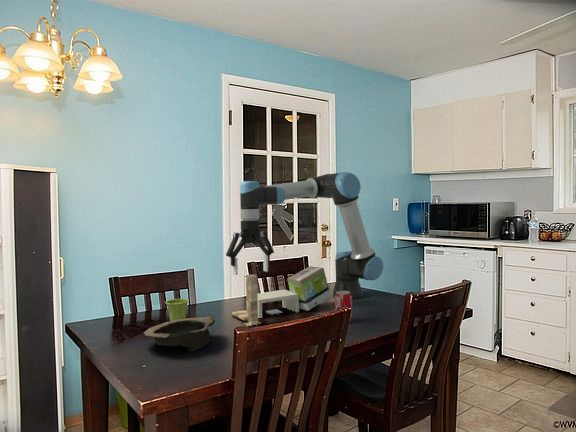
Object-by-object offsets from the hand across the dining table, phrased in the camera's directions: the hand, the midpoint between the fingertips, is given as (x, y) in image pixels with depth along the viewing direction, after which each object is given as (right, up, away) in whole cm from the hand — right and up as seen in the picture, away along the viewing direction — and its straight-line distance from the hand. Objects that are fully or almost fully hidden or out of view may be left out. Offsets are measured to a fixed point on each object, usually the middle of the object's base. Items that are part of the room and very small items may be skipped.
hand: (250, 272), depth 178 cm
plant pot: (-31, -22, +7) cm, 39 cm away
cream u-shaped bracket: (+8, -20, +19) cm, 29 cm away
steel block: (+9, -21, +19) cm, 29 cm away
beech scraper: (-3, -21, +6) cm, 22 cm away
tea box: (+27, -17, +26) cm, 41 cm away
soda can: (+38, -20, +3) cm, 43 cm away
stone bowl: (-23, -23, -22) cm, 39 cm away
